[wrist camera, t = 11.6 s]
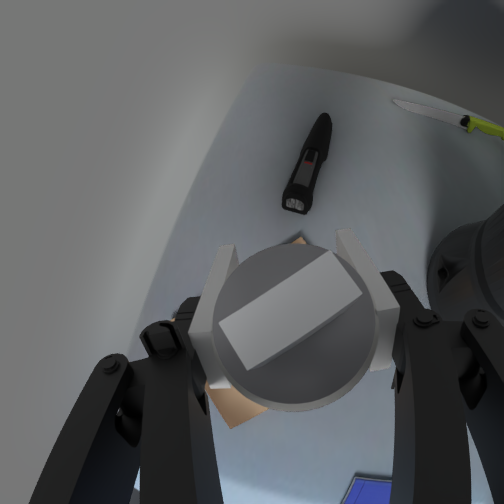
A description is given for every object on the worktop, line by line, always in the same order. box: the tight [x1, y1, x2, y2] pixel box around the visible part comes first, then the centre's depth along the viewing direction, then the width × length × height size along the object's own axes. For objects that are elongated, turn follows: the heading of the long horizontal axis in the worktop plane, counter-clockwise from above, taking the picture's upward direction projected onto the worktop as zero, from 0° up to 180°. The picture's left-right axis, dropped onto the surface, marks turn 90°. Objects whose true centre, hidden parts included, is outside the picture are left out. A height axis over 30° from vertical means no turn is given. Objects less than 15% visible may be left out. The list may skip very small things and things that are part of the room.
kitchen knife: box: [392, 99, 504, 140], centre depth 36 cm, size 22×1×3 cm, turn 73°
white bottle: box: [211, 243, 379, 412], centre depth 10 cm, size 5×5×12 cm
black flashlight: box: [282, 113, 332, 215], centre depth 37 cm, size 4×16×3 cm, turn 158°
